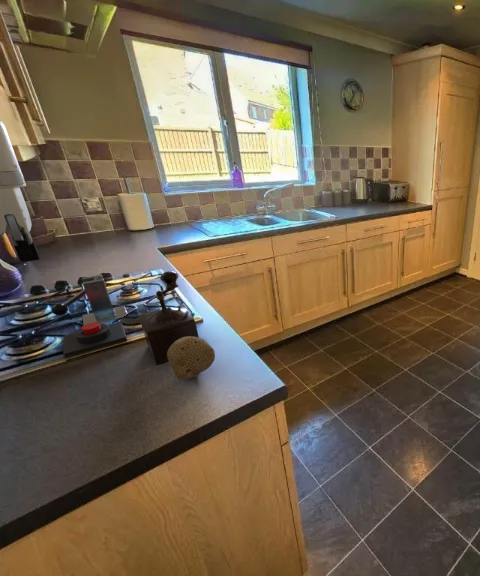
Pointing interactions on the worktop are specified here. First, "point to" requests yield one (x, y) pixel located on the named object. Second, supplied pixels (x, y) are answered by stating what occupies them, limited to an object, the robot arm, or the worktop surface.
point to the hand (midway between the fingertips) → (30, 259)
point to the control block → (93, 340)
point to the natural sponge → (190, 357)
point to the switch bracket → (100, 302)
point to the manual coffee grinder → (167, 323)
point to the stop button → (91, 328)
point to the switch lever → (67, 303)
